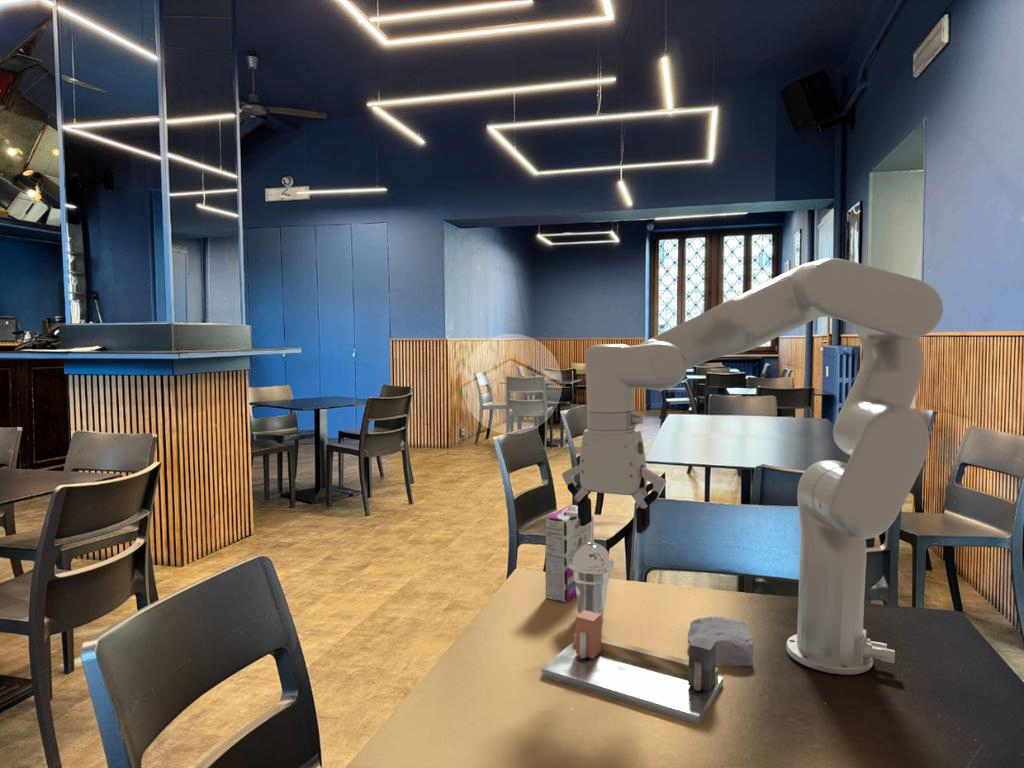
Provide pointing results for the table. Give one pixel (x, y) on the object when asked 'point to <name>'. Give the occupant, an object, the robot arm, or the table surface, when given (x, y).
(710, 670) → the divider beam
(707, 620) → the stone block
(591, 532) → the domed lid cup
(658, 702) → the bolt plate
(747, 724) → the table surface
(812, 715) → the table surface
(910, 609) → the table surface
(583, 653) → the block
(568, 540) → the candy bar box
